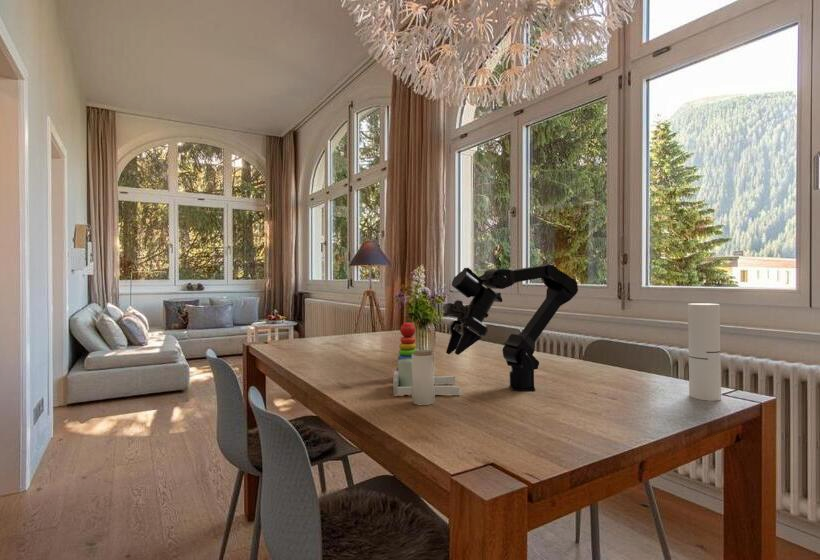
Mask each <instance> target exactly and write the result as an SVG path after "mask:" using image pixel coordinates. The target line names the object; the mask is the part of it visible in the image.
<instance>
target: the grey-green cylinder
mask: <svg viewBox="0 0 820 560" xmlns="http://www.w3.org/2000/svg"><path fill="white" fill-rule="evenodd" d="M397 368H398V375H399V386H398V387H412V359H400V360H398V361H397Z"/></svg>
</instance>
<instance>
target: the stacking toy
mask: <svg viewBox="0 0 820 560" xmlns="http://www.w3.org/2000/svg"><path fill="white" fill-rule="evenodd" d="M399 331H400V334H401V336H402V337H401V338H400V339H399V341H400V344H399V346H398V347H399V350H398V354H399V356H398V357H397V358H398V360H400V359H412V354H413V353H414V351H416V350H417V349H416V348H417V347H416V346H417V344H415V342H416V337H414V335H415V333H416V326H415V325H414V324H413V323H412V322H408V321H407V322H404V323H403V324H402V325H401V326H400V329H399ZM395 371H398V367H396V370H395ZM398 377H399V375H398Z"/></svg>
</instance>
